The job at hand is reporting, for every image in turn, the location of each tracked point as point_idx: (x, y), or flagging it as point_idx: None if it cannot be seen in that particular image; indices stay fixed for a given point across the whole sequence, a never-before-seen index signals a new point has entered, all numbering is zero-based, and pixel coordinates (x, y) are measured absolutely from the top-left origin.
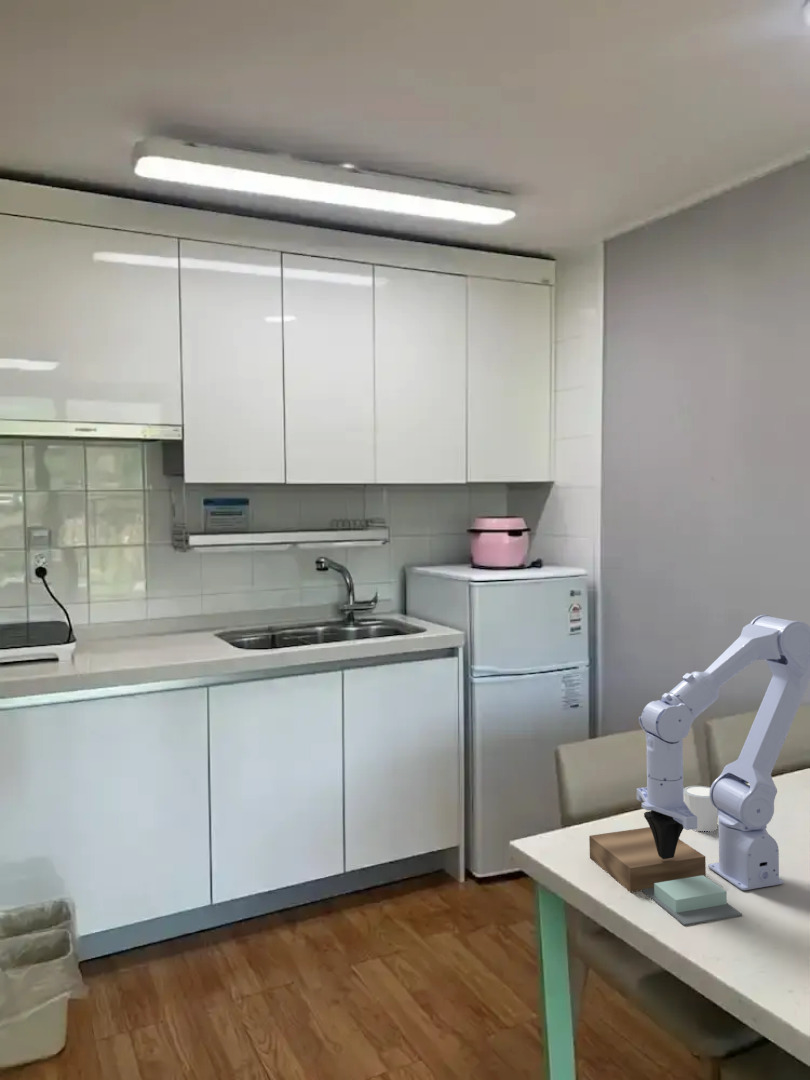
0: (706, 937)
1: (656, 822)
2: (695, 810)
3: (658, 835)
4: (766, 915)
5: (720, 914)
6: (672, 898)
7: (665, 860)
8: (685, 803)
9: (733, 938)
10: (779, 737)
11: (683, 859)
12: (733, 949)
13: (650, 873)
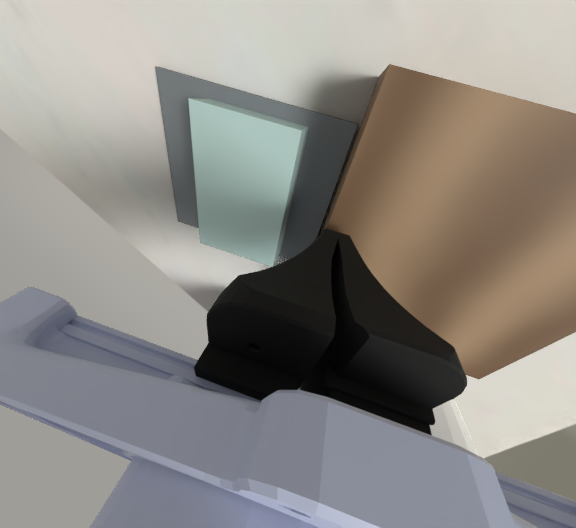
0: (109, 77)
1: (260, 292)
2: (438, 434)
3: (318, 265)
4: (175, 247)
5: (182, 188)
6: (205, 102)
7: None
8: (468, 449)
9: (107, 134)
10: None
11: None
12: (65, 93)
13: (347, 169)
